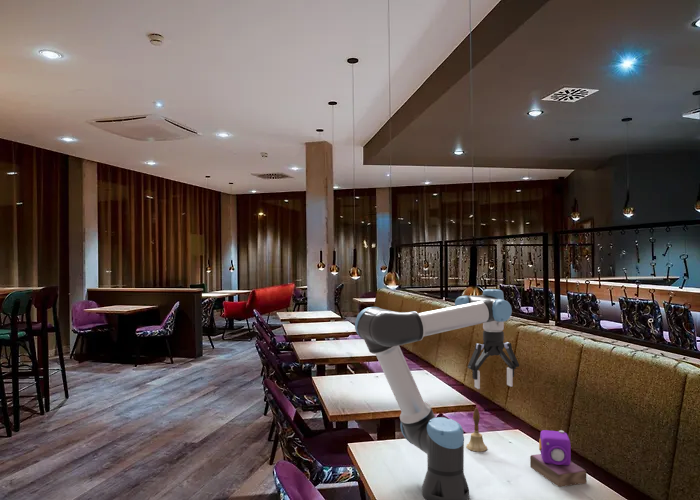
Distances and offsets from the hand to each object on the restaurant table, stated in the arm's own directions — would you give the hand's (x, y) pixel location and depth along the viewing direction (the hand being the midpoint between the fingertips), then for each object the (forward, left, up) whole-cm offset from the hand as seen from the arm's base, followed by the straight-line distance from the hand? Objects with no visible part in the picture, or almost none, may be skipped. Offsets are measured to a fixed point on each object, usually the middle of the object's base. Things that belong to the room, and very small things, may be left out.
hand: (493, 386), depth 184 cm
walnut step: (+17, -14, -29) cm, 36 cm away
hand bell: (+1, +15, -29) cm, 33 cm away
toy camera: (+17, -14, -24) cm, 33 cm away
